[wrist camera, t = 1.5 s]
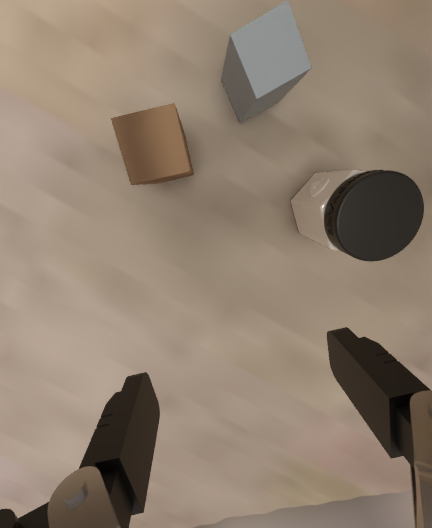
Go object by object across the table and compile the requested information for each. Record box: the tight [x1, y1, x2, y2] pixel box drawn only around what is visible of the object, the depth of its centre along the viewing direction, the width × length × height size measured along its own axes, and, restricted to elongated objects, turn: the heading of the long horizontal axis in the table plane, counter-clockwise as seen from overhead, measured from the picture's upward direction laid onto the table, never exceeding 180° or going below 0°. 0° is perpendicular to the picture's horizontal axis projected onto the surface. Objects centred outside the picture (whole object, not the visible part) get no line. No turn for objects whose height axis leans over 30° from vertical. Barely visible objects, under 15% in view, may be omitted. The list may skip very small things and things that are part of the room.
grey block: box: [221, 0, 312, 124], centre depth 26 cm, size 5×5×10 cm
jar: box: [291, 170, 424, 261], centre depth 30 cm, size 9×8×12 cm
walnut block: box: [111, 103, 194, 185], centre depth 27 cm, size 5×5×12 cm
